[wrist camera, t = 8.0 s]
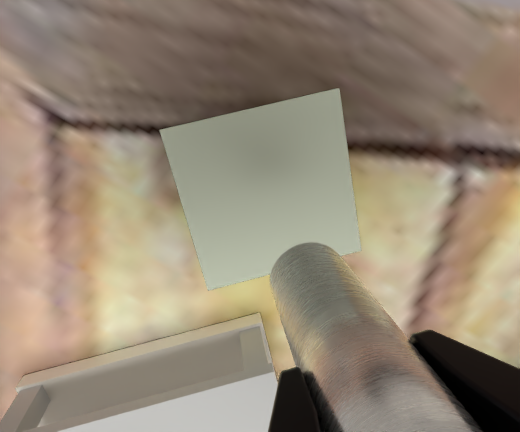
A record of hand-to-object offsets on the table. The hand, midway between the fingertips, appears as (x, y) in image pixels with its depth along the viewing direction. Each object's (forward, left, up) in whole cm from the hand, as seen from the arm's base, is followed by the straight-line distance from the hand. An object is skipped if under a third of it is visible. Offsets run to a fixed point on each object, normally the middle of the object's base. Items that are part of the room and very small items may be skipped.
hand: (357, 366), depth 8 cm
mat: (0, 0, -13) cm, 13 cm away
